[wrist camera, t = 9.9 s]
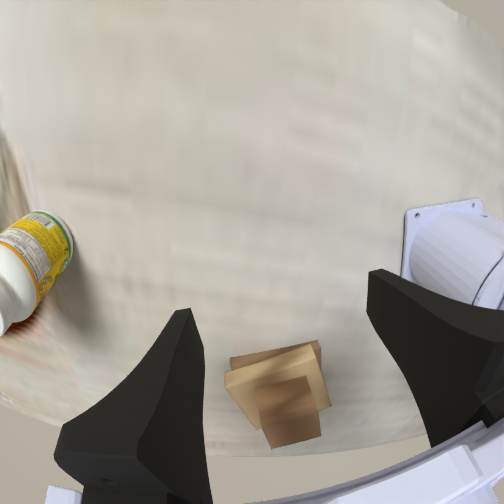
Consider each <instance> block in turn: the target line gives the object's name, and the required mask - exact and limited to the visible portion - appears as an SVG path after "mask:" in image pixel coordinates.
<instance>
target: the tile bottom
mask: <svg viewBox="0 0 504 504" xmlns="http://www.w3.org/2000/svg"><path fill="white" fill-rule="evenodd" d="M309 344H311V346H312V349H313V351H314V354H315V356H316V359H317V362H318V365H319V368H320V372H321V348H320V345H319V343H318V341H317V340H316V341H311V342H307V343H303V344H298V345H294V346H289V347H285V348H280V349H275V350H270V351H265V352H260V353H254V354H249V355H244V356H238V357H232V358H230V363H231V369H232V371H233V370H236V369H239V368H243V367H246V366H249V365H252V364H255V363H258V362H261V361H264V360H267V359H270V358H273V357H276V356H279V355H281V354H284V353H287V352H290V351H293V350H295V349H298V348H301V347H304V346H306V345H309Z"/></svg>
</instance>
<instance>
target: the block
mask: <svg viewBox="0 0 504 504" xmlns="http://www.w3.org/2000/svg"><path fill="white" fill-rule="evenodd" d="M255 394H256V400H257V406H258V412H259V417H260V423H261V427H262V429H263V431H264V434H265V436H266V438H267V440H268V442H269V445H270V447H271V449H273V448H277V447H281V446H286V445H290V444H294V443H298V442H301V441H305V440H309V439H312V438H316V437H319V436H321V430H320V423H319V415H318V410H317V407H316V404H315V401H314V398H313V395H312V392H311V389H310V386H309V383H308V380H307V377H306V375H305V376H301V377H297V378H294V379H290V380H286V381H283V382H279V383H275V384H271V385H267V386H263V387H258V388H255Z"/></svg>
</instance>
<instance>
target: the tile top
mask: <svg viewBox="0 0 504 504" xmlns="http://www.w3.org/2000/svg"><path fill="white" fill-rule="evenodd" d="M305 375H306V377H307V380H308V383H309V386H310V389H311V392H312V395H313V398H314V401H315V404H316V407H317V410H318V411H319V410H322V409H325V408H327V407H330V406H331V403H330V400H329V397H328V394H327V390H326V387H325V384H324V381H323V378H322V375H321V372H320V368H319V365H318V362H317V359H316V356H315V354H314V351H313V349H312V346H311V344H309V345H306V346H304V347H301V348H298V349H295V350H293V351H290V352H287V353H284V354H281V355H279V356H276V357H273V358H270V359H267V360H264V361H261V362H258V363H255V364H252V365H249V366H246V367H243V368H239V369H236V370H233V371H229V372H226V373H224V379H225V389H226V390H227V391H228V393H229V394H230V396H231V397H232V398H233V400H234V401H235V402H236V404H237V405H238V407H239V408H240V409H241V411H242V412H243V413H244V415H245V416H246V417H247V419H248V420H249V421H250V423H251V424H252V425H253V427H254V428H255V429H256V430H259V429H262V427H261V423H260V417H259V412H258V406H257V400H256V394H255V388H258V387H263V386H267V385H271V384H275V383H279V382H283V381H286V380H290V379H294V378H297V377H301V376H305Z"/></svg>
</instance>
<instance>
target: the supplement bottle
mask: <svg viewBox="0 0 504 504" xmlns="http://www.w3.org/2000/svg"><path fill="white" fill-rule="evenodd" d="M72 254H73V240H72V237H71V234H70V231H69V229H68V228H67V226H66V224H65V223H64V222H63V220H62V219H61V218H59V217H58V216H57V215H55V214H54V213H52V212H50V211H46V210H36V211H33V212H31V213H29V214H27V215H26V216H24V217H23V218H22V219H20V220H19V221H17V222H16V223H14V224H13V225H11V226H10V227H9V228H7V229H6V230H4V231H3V232H2V233H0V337H1V336H2V335H3V334H4V333H5V331H6V330H7V329H8V328H9V326H10V325H11V323H12V322H20V321H23V320H25V319H26V318H27V317H29V316H30V315H31V313H32V312H33V311H34V309H35V308H36V307H37V305H38V304H39V302H40V301H41V300H42V298H43V297H44V296H45V295H46V293H47V292H48V291H49V289H50V288H51V287H52V286H53V284H54V283H55V282H56V280H57V279H58V278H59V277H60V275H61V274H62V273H63V272H64V270H65V269H66V268H67V266H68V265H69V263H70V261H71V257H72Z"/></svg>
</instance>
